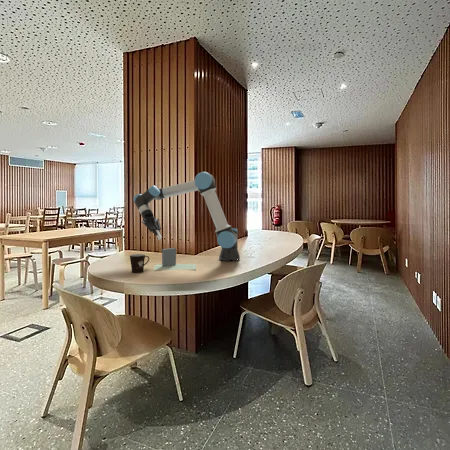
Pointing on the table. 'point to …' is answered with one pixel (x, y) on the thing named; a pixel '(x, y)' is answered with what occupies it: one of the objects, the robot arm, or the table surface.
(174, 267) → the mat
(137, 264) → the coffee mug
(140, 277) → the table surface
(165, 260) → the slate picture frame
